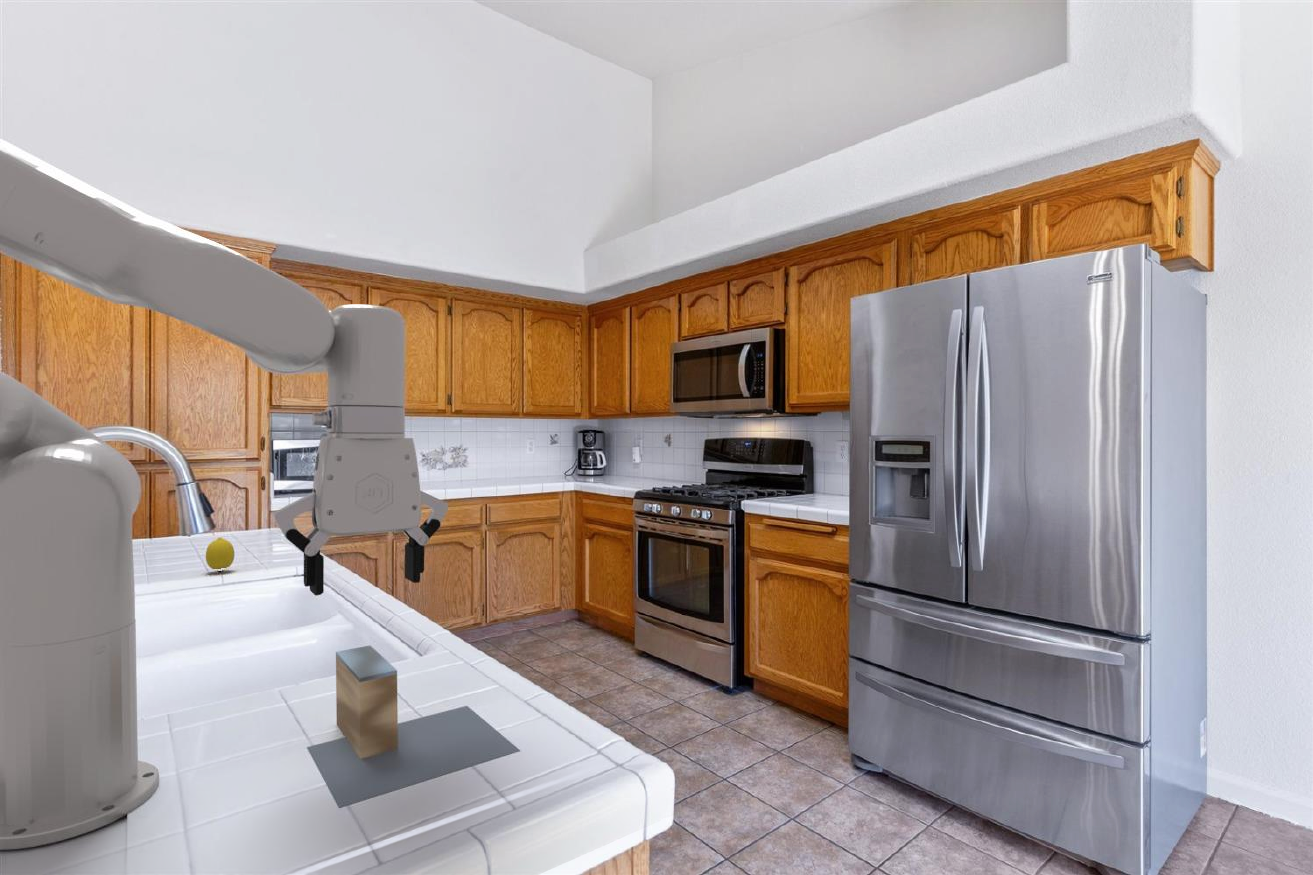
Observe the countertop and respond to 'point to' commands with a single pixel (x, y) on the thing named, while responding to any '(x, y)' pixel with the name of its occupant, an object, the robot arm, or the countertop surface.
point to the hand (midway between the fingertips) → (366, 586)
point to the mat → (410, 755)
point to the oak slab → (367, 701)
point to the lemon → (219, 554)
